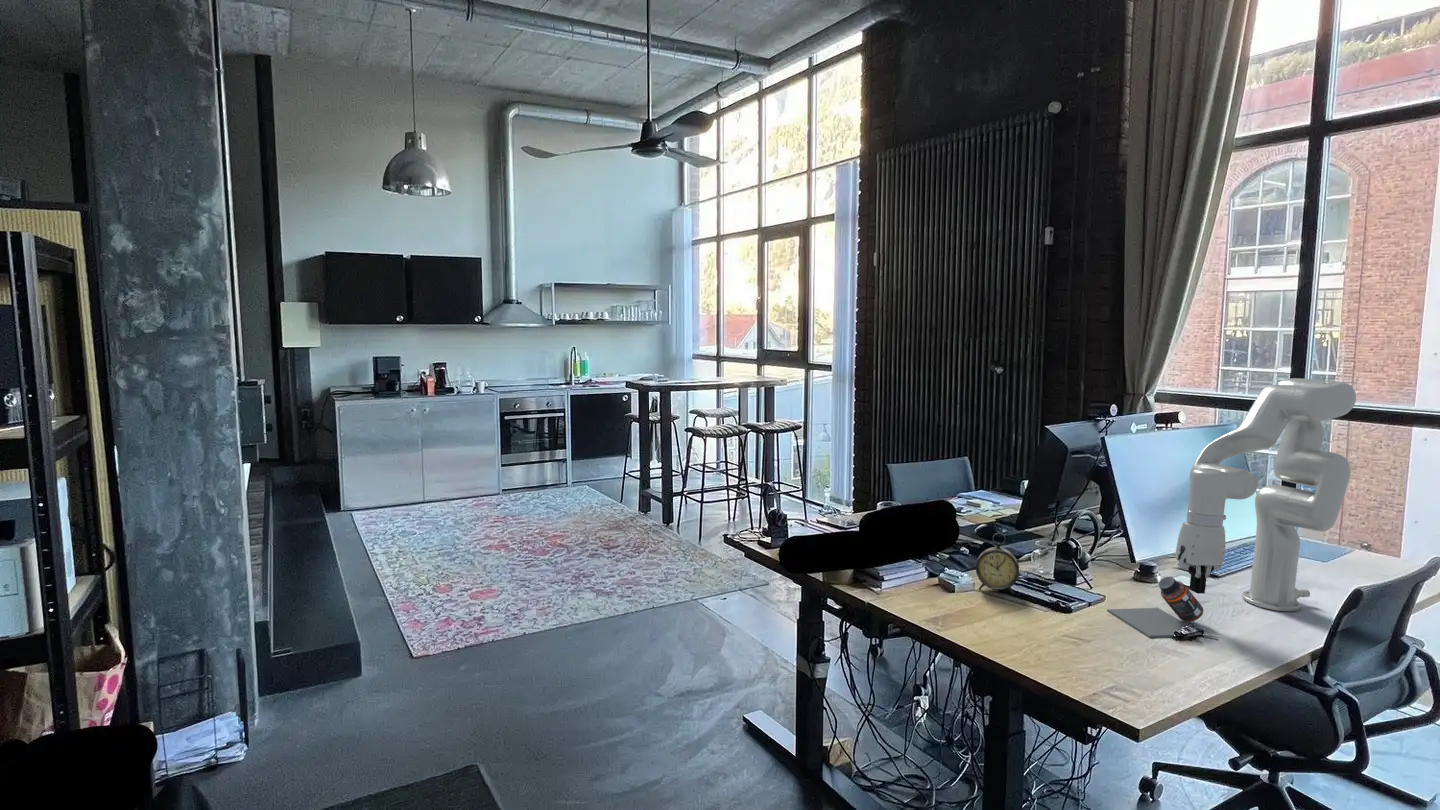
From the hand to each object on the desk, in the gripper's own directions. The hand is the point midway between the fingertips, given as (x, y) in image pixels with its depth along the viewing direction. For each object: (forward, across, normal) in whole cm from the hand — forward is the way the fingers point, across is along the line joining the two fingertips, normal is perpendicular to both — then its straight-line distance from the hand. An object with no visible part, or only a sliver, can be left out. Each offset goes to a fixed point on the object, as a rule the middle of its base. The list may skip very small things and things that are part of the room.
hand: (1197, 591), depth 190 cm
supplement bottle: (+6, 0, 0) cm, 6 cm away
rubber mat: (+8, +11, 0) cm, 13 cm away
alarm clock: (+8, +40, -24) cm, 47 cm away
